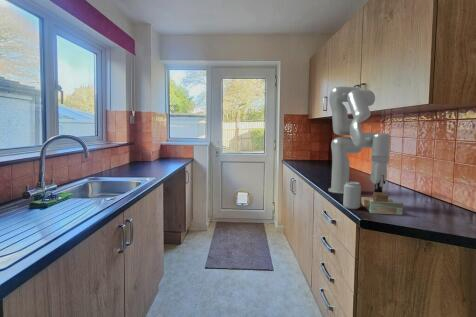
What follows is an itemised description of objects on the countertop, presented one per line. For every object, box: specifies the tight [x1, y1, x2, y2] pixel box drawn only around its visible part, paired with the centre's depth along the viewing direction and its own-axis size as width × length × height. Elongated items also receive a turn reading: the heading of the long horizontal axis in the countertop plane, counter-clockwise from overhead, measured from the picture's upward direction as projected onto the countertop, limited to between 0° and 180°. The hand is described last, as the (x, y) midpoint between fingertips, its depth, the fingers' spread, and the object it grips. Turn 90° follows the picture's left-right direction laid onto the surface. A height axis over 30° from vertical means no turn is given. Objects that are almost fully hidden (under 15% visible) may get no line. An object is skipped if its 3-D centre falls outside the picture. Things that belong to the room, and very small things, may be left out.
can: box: [342, 181, 362, 210], centre depth 142 cm, size 8×8×12 cm
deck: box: [360, 196, 404, 216], centre depth 141 cm, size 18×13×5 cm
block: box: [372, 191, 389, 202], centre depth 142 cm, size 5×5×4 cm
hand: (377, 197), depth 147 cm, fingers closed
